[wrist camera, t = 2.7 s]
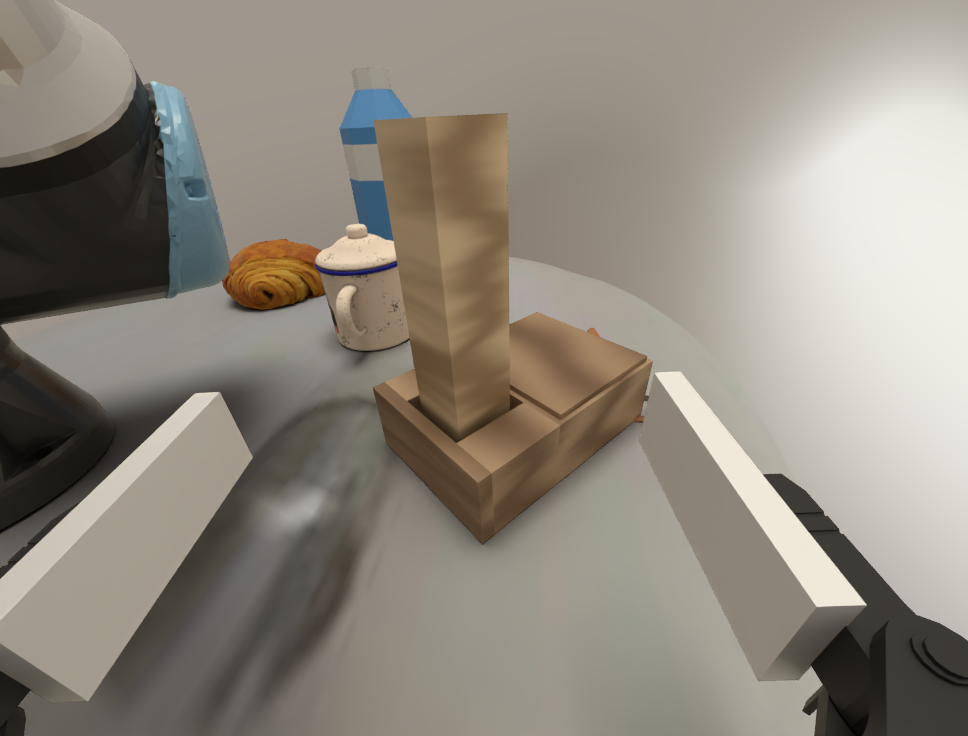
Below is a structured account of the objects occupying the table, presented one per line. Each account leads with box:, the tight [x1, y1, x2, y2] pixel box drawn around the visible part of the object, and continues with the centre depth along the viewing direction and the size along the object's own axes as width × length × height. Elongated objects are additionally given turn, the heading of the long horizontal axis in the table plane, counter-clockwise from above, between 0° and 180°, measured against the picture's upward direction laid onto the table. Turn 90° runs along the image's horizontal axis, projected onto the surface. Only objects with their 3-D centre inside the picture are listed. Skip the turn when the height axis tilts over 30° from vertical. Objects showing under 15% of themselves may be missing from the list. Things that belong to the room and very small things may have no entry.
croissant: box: [222, 239, 325, 310], centre depth 55 cm, size 14×16×8 cm
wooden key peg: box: [373, 113, 510, 443], centre depth 22 cm, size 4×4×20 cm
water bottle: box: [340, 68, 412, 241], centre depth 51 cm, size 9×9×25 cm
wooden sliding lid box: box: [373, 312, 653, 544], centre depth 28 cm, size 16×11×5 cm
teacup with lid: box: [315, 224, 410, 351], centre depth 40 cm, size 12×9×12 cm
